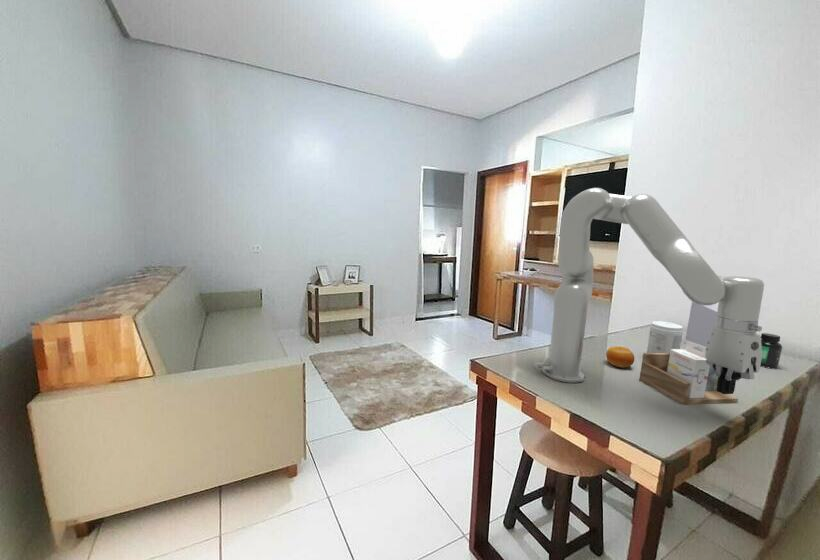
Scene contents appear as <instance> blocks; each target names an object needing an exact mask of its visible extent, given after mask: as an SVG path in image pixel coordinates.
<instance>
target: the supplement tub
mask: <svg viewBox="0 0 820 560" xmlns="http://www.w3.org/2000/svg"><path fill="white" fill-rule="evenodd" d="M683 331H684V330H683V326H682V325H680V324H678V323H673V322H670V321H669V322H668V321H663V320H660V321H659V320H655V321H651V323H650V328H649V334H648V335H649V336H648V341H647V350H646V353H670V352H671V349H681V344H682V337H683Z"/></svg>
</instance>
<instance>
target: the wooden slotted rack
mask: <svg viewBox="0 0 820 560" xmlns="http://www.w3.org/2000/svg"><path fill="white" fill-rule="evenodd" d="M669 357H670V353H647V352H643V354H642V360H641V368H640V371H639V381H641V382H642V383H644V384H646V385H647V386H649V387H651V388H653V389H655V390H656V391H658V392H660V393H662V394H663V393H664V395H665V394H666V395H665V396H667V397H669V398H671V399H673V400H674V401H675V402H678V403H679V404H681V405H693V404H694V405H695V404H696V405H697V404H699V405H700V404H702V405H704V404H735V403H739V398H737V397H736V396H733V395H732V394H722V393H721V392H718V391H717V382H718V376H716V371H715V370H714V368H713V367H712V366H710V368H709V373H708V379H707V384H706V389H705V394H704V398H688V397H687V395H688V389H689V384H690V383H688V382H686V381H684V380H682V379H679V378H677V377H675V376H673V375H671V374H669V373H667V368H668V363H669Z"/></svg>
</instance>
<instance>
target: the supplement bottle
mask: <svg viewBox="0 0 820 560" xmlns="http://www.w3.org/2000/svg"><path fill="white" fill-rule="evenodd" d="M760 338H761V346H762V354H761V365H760V367H761V366H764V367H763V368H766V367H769V368H768V369H772V368H775V369H777V368H778V367H779V365H780V364H779V363H780V360H781V354H782V350H783V344H781V343H780V342H781V336H780V335H777V334H774V333H767V332H762V333H761V335H760Z"/></svg>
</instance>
